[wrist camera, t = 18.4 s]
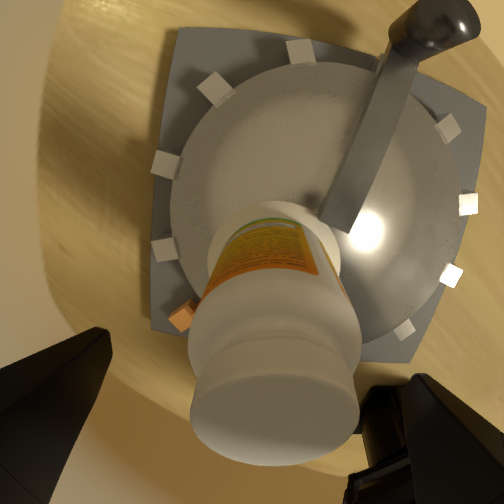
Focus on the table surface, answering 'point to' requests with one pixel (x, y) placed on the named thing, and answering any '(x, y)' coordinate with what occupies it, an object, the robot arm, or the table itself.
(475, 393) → the table surface
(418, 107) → the sprocket
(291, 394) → the supplement bottle
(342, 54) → the sprocket base
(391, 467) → the robot arm
